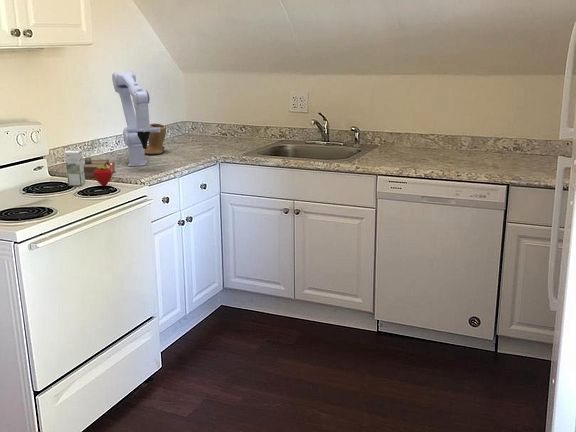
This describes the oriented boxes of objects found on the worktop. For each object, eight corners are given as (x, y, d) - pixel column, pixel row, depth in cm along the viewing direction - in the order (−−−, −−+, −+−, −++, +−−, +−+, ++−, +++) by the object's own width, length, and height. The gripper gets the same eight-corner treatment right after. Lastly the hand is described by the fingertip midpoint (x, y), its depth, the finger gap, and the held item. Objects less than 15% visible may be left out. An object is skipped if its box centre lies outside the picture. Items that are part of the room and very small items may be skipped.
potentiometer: (85, 163, 285) (84, 155, 284) (92, 162, 285) (91, 154, 284) (84, 164, 282) (83, 156, 281) (90, 164, 283) (90, 156, 281)
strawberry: (95, 185, 267) (92, 161, 264) (113, 184, 268) (111, 160, 265) (93, 188, 261) (91, 164, 258) (113, 187, 263) (110, 163, 260)
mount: (89, 170, 292) (88, 160, 291) (109, 170, 293) (108, 159, 291) (82, 178, 278) (81, 167, 276) (103, 178, 279) (102, 166, 277)
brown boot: (166, 155, 323) (164, 125, 319) (142, 156, 323) (139, 126, 319) (170, 149, 338) (168, 121, 334) (147, 150, 337) (145, 121, 333)
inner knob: (89, 170, 290) (88, 162, 289) (115, 170, 291) (114, 161, 290) (87, 172, 286) (86, 164, 285) (113, 172, 287) (113, 163, 286)
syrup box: (85, 182, 271) (82, 148, 267) (82, 186, 266) (78, 151, 261) (72, 182, 271) (68, 149, 267) (68, 186, 266) (63, 151, 261)
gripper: (124, 120, 281) (127, 150, 285) (158, 119, 282) (160, 149, 286) (127, 117, 288) (129, 147, 292) (159, 117, 289) (162, 146, 293)
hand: (145, 148), depth 289 cm, fingers closed
